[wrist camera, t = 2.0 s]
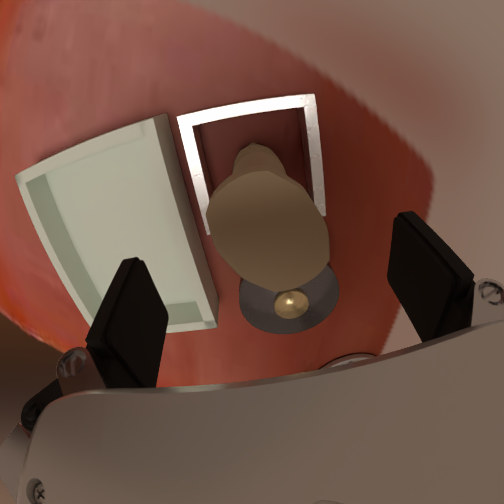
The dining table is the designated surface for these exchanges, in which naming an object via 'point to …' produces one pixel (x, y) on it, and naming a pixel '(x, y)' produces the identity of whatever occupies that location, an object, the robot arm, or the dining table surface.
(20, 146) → the dining table surface
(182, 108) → the dining table surface
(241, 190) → the handle
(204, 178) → the bracket
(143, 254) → the tray
